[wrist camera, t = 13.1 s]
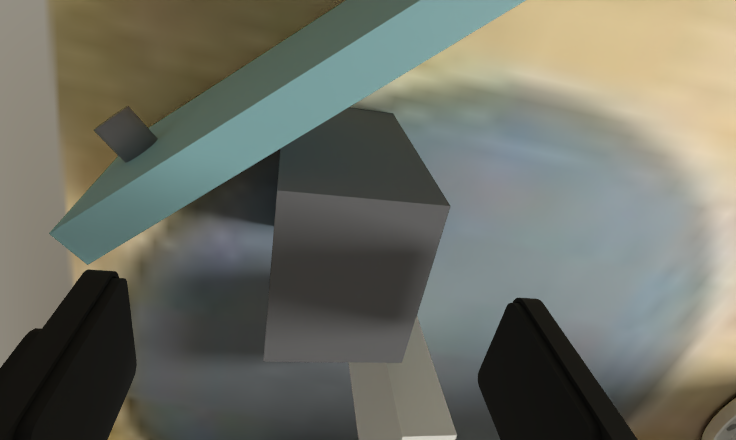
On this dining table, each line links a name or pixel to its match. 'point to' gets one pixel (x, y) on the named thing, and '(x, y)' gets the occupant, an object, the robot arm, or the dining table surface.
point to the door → (259, 112)
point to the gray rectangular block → (350, 242)
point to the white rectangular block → (401, 397)
